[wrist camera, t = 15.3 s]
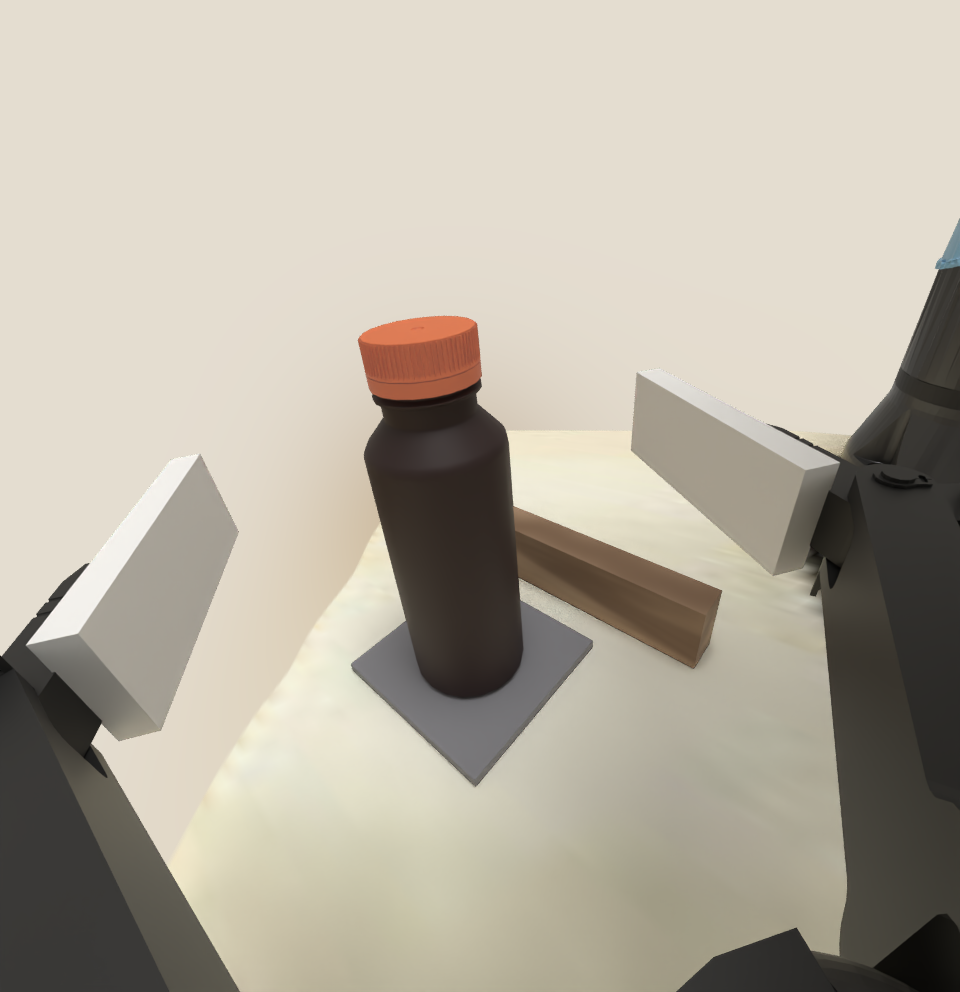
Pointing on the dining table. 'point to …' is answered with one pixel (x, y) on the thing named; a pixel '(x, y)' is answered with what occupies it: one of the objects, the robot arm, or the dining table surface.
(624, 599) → the door rail
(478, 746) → the pad
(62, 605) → the robot arm
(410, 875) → the dining table surface
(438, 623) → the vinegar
